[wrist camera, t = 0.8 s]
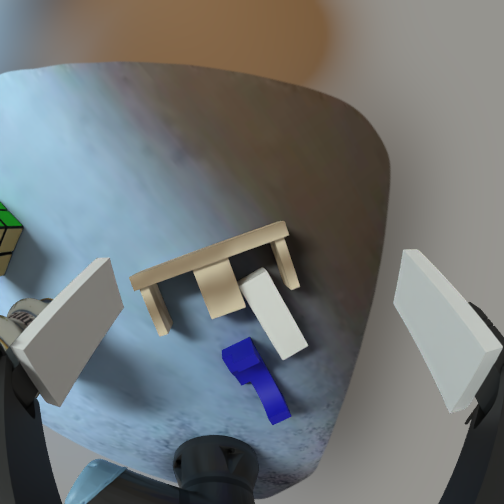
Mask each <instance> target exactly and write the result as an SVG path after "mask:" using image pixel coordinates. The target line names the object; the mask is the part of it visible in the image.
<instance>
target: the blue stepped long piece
mask: <svg viewBox="0 0 504 504" xmlns="http://www.w3.org/2000/svg"><path fill="white" fill-rule="evenodd" d="M222 359H223V361H224V362H225V364H226V365H227V367H228V369H229V370H230V372H231V373H232V374H233V375H234V376H235V377H236V378H237V380H238V381H239V382H240V384H241V385H244V384H246V383H248V382H250V381H251V383H252V385H253V386H254V388H255V390H256V392H257V394H258V396H259V398H260V400H261V402H262V404H263V406H264V408H265V411H266V413H267V416H268V419H269V421H270V422H271V423H272V425H274V424H276V423H279V422H281V421H283V420H285V419H287V418H289V417H291V414H290V411H289V409H288V406H287V404H286V401H285V399H284V396H283V395H282V393H281V391H280V389H279V388H278V386H277V384H276V383H275V381H274V379H273V377H272V376H271V374H270V372H269V370H268V369H267V367H266V365H265V363H264V362H263V360H262V358H261V356H260V354H259V353H258V351H257V349H256V347H255V345H254V344H253V342H252V340H251V338H250V337H248V338H246V339H244V340H242V341H240V342H238V343H236V344H234V345H232V346H230V347H228V348H226V349H223V350H222Z"/></svg>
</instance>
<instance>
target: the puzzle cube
mask: <svg viewBox="0 0 504 504" xmlns="http://www.w3.org/2000/svg"><path fill="white" fill-rule="evenodd" d="M22 230H23V226H22V225H21V223H20V222H19V221H18V220H17V219H16V218H15V217H14V216H13V215H12V214H11V213H10V212H9V211H7V209H6V208H5V207H4V206H3V204H2V203H1V202H0V276H3V275H4V274H5V271H6V269H7V266H8V263H9V261H10V258H11V256H12V251H14V248H15V246H16V243H17V241H18V239H19V236H20V234H21V232H22Z"/></svg>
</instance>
